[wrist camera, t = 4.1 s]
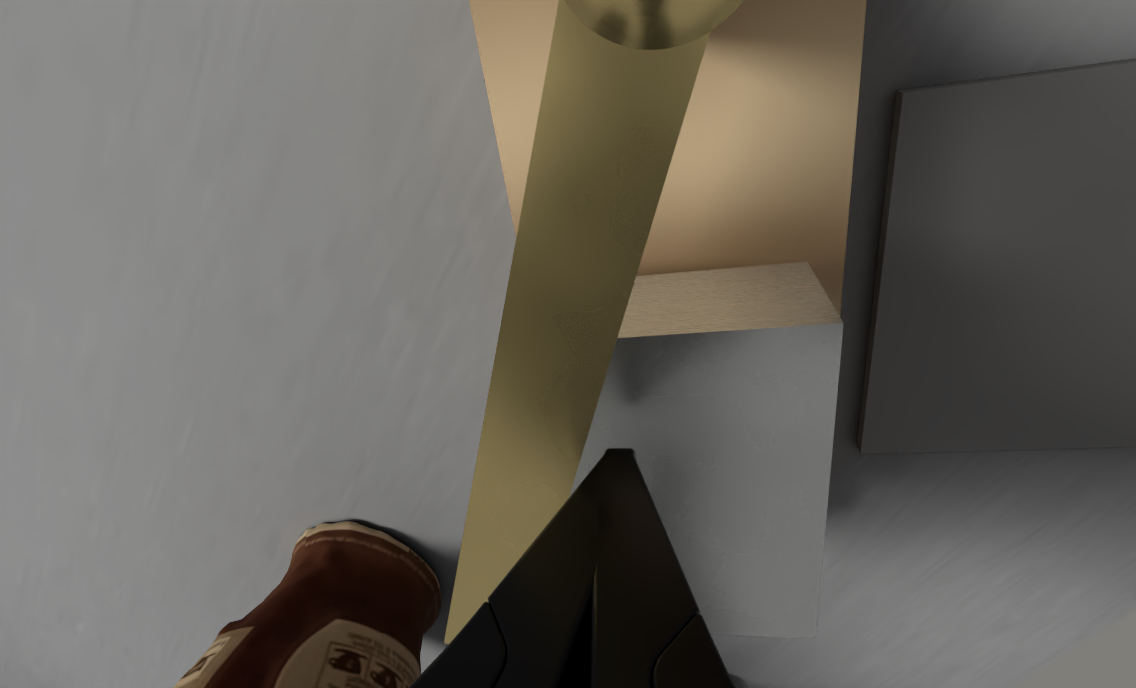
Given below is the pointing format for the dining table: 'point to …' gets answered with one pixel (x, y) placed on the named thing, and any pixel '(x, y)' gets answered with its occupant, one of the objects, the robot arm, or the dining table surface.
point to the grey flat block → (731, 434)
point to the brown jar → (331, 619)
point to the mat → (1007, 267)
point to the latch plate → (720, 133)
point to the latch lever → (575, 261)
